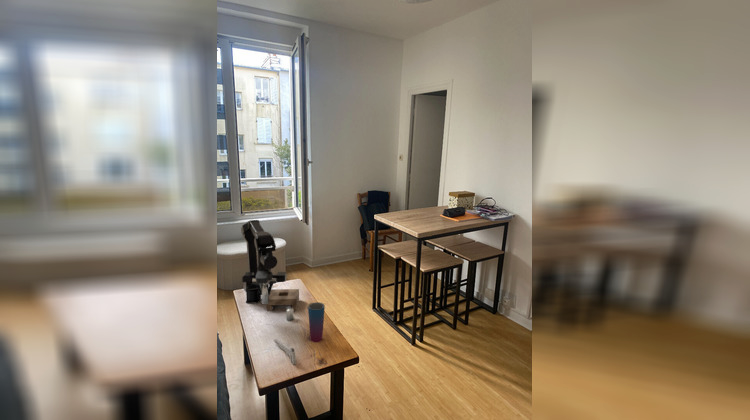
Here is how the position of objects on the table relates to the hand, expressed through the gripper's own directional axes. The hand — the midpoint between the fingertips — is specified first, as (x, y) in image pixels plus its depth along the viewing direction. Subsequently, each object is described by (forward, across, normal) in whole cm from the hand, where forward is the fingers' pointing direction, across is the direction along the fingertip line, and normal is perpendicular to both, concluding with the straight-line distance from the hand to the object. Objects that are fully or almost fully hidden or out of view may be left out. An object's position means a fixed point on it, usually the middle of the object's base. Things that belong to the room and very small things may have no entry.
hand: (265, 294), depth 169 cm
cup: (+12, +24, -18) cm, 32 cm away
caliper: (+13, +12, -27) cm, 32 cm away
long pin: (+4, 0, 0) cm, 4 cm away
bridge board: (+12, +6, +15) cm, 20 cm away
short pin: (+12, +11, 0) cm, 16 cm away
